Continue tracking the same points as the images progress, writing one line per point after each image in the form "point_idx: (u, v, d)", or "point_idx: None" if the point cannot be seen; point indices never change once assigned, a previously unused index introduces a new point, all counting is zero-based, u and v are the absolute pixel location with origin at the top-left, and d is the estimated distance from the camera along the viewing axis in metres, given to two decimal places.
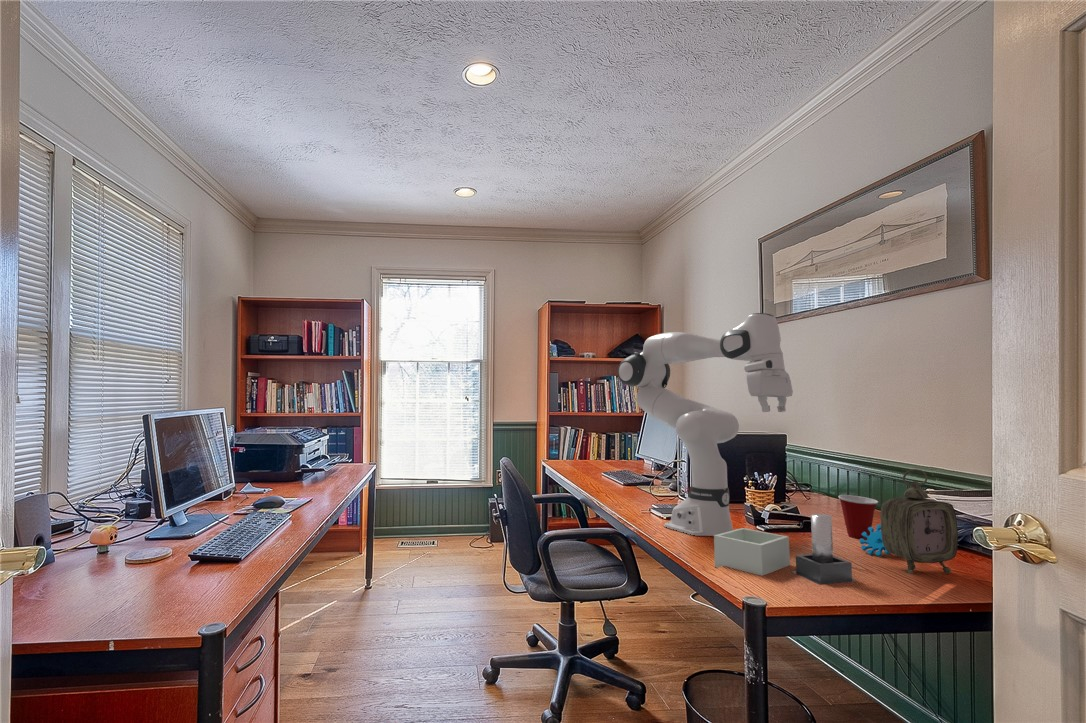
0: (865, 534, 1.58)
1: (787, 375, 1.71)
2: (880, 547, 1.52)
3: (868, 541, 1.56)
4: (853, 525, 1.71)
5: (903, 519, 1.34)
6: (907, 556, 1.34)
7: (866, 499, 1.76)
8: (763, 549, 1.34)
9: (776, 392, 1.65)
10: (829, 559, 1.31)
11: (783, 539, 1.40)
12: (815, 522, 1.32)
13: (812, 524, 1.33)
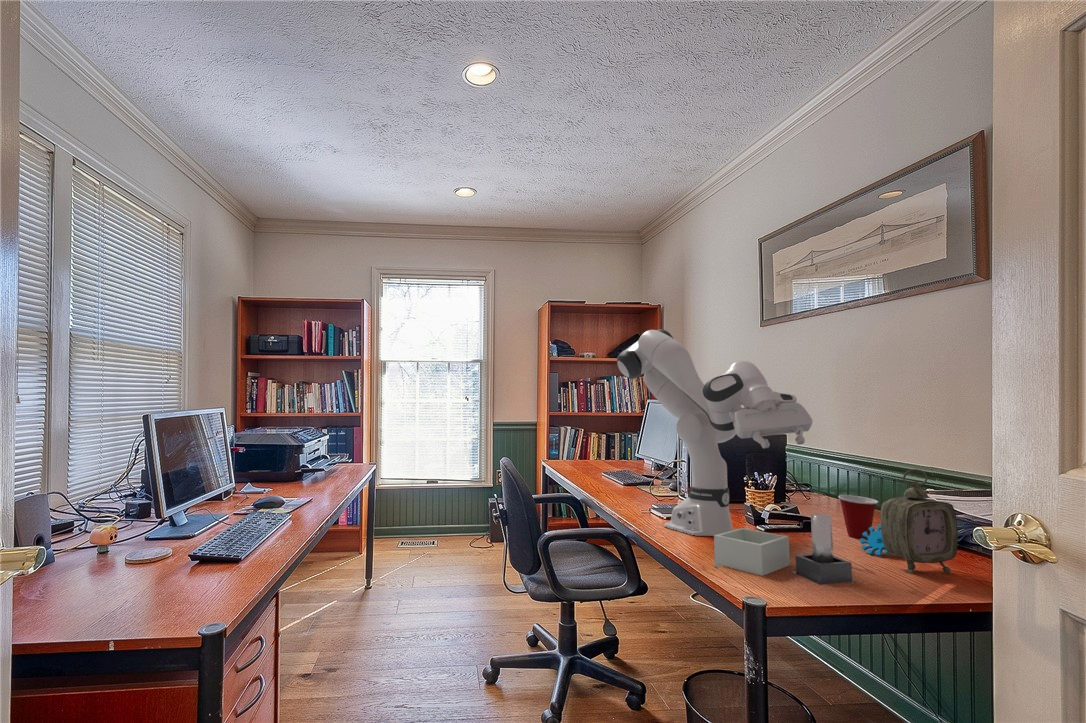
0: (866, 534, 1.58)
1: None
2: (880, 547, 1.52)
3: (869, 541, 1.56)
4: (853, 525, 1.71)
5: (903, 519, 1.34)
6: (907, 556, 1.34)
7: (866, 499, 1.76)
8: (763, 549, 1.34)
9: None
10: (829, 559, 1.31)
11: (783, 539, 1.40)
12: (815, 522, 1.32)
13: (812, 524, 1.33)
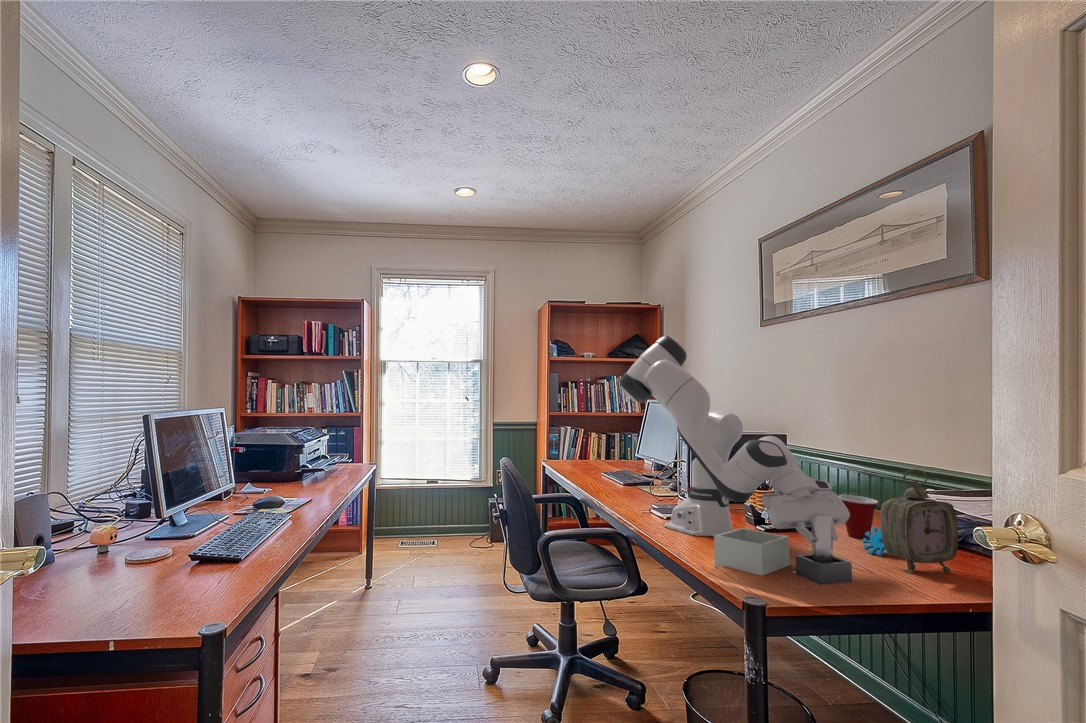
0: (868, 534, 1.58)
1: None
2: (882, 546, 1.53)
3: (870, 541, 1.56)
4: (853, 525, 1.71)
5: (903, 519, 1.34)
6: (907, 556, 1.34)
7: (866, 499, 1.76)
8: (763, 549, 1.34)
9: None
10: (829, 559, 1.31)
11: (783, 539, 1.40)
12: (815, 522, 1.32)
13: (812, 524, 1.33)
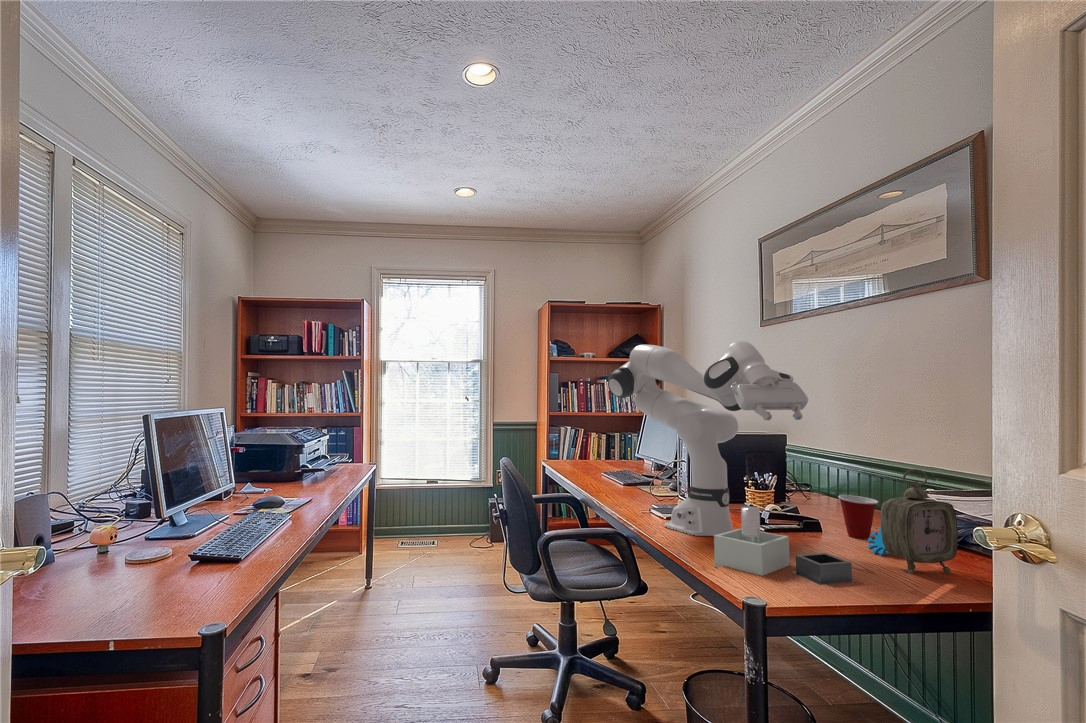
0: (874, 533, 1.59)
1: None
2: None
3: (875, 540, 1.57)
4: (853, 525, 1.71)
5: (903, 519, 1.34)
6: (907, 556, 1.34)
7: (866, 499, 1.76)
8: (763, 549, 1.34)
9: None
10: None
11: (783, 539, 1.40)
12: (744, 514, 1.42)
13: (742, 516, 1.43)
